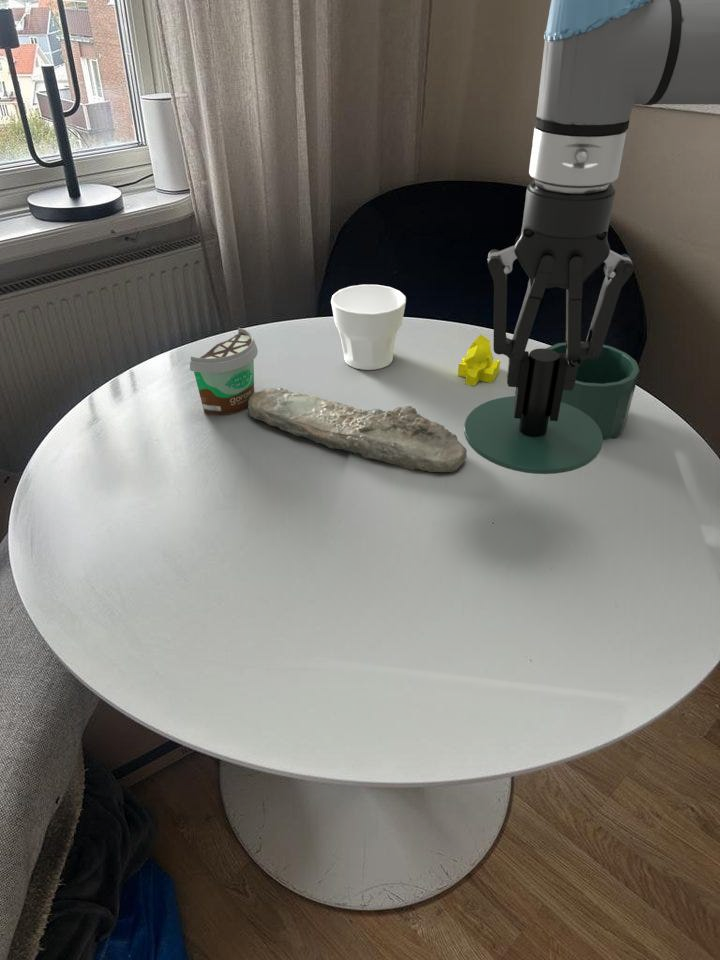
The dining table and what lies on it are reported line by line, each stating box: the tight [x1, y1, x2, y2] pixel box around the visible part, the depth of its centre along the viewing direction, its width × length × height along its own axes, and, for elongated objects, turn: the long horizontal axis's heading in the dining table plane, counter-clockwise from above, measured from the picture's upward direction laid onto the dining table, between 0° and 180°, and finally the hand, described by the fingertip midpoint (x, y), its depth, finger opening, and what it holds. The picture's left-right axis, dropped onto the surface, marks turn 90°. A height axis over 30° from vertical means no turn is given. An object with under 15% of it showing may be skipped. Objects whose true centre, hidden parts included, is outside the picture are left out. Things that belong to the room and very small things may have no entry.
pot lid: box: [463, 347, 604, 475], centre depth 74 cm, size 15×15×10 cm
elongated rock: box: [247, 387, 468, 473], centre depth 102 cm, size 35×5×10 cm
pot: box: [545, 341, 640, 441], centre depth 104 cm, size 14×14×10 cm
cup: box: [330, 284, 407, 371], centre depth 119 cm, size 12×12×11 cm
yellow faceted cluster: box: [457, 333, 501, 387], centre depth 116 cm, size 6×8×8 cm
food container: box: [189, 327, 259, 416], centre depth 108 cm, size 12×6×10 cm, turn 150°
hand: (535, 412), depth 75 cm, fingers closed on pot lid, 3 cm apart
